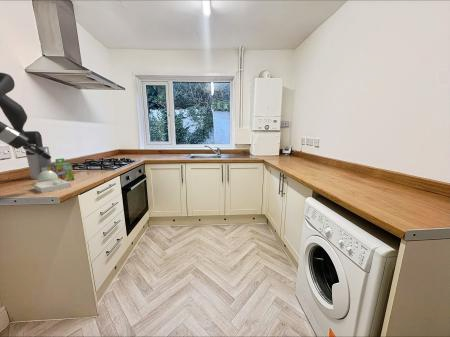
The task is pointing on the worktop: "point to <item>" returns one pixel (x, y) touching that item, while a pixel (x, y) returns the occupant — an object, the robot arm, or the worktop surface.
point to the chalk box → (63, 170)
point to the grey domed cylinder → (43, 161)
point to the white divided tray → (50, 182)
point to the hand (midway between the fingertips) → (48, 158)
